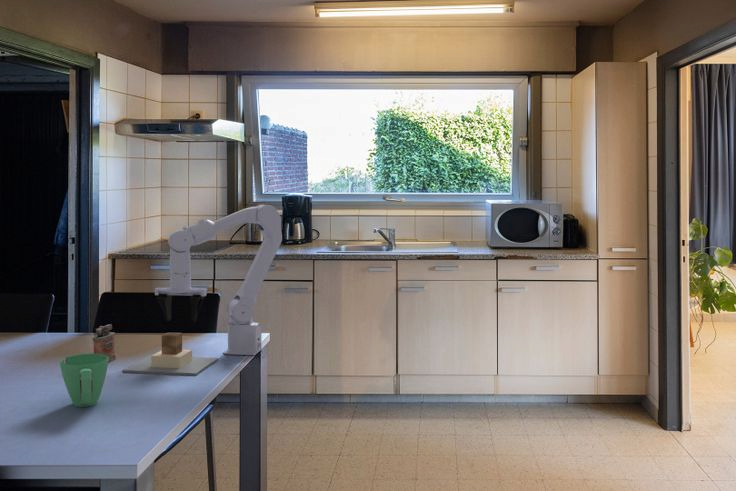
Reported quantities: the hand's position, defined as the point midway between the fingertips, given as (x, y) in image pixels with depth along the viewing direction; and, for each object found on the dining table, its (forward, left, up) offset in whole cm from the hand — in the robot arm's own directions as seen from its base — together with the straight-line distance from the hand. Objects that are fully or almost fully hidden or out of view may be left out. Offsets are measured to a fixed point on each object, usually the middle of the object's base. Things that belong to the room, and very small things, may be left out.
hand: (181, 320), depth 188 cm
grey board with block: (-2, +10, -10) cm, 14 cm away
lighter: (+18, +9, -11) cm, 23 cm away
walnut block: (-2, +10, -7) cm, 12 cm away
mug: (+2, +45, -11) cm, 46 cm away
